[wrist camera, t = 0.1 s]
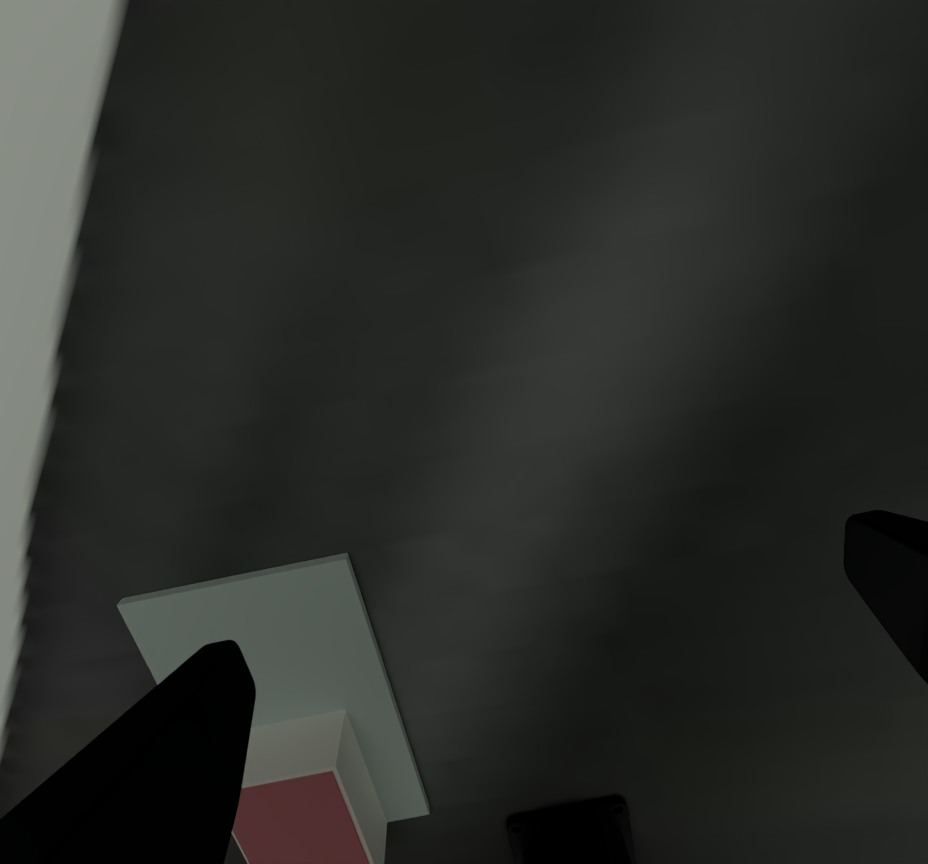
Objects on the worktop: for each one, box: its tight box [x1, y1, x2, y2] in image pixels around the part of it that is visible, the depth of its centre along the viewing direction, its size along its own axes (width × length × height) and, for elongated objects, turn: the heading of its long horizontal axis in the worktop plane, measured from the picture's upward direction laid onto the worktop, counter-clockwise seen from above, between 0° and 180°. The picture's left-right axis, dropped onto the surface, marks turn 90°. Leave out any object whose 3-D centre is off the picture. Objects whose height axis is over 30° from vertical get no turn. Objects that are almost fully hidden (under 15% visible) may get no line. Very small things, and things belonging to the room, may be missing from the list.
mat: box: [117, 553, 429, 822], centre depth 28 cm, size 16×10×1 cm, turn 11°
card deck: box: [232, 709, 387, 864], centre depth 27 cm, size 8×6×3 cm
